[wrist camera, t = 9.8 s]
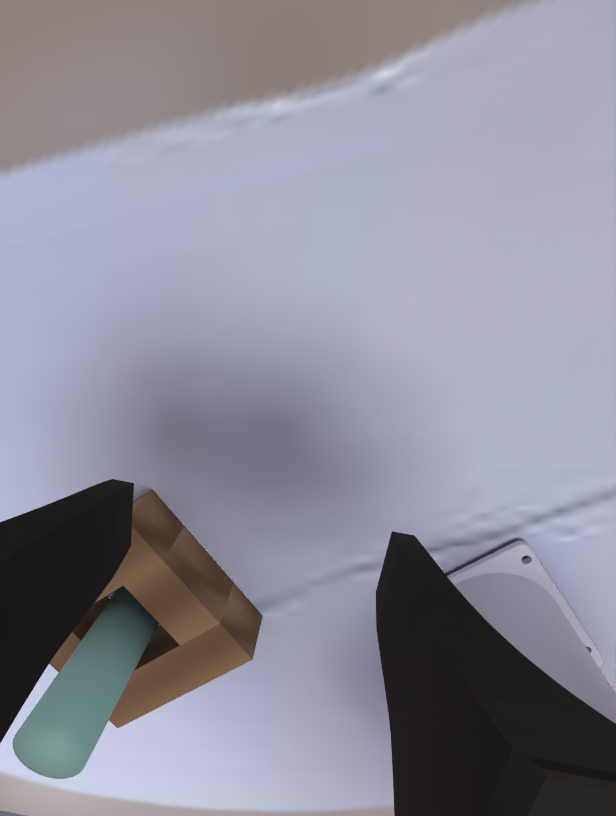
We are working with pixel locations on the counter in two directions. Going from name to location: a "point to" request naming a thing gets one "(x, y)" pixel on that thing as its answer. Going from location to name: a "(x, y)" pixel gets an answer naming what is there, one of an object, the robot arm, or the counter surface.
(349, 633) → the counter surface
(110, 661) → the peg
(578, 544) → the counter surface
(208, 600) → the hole block
